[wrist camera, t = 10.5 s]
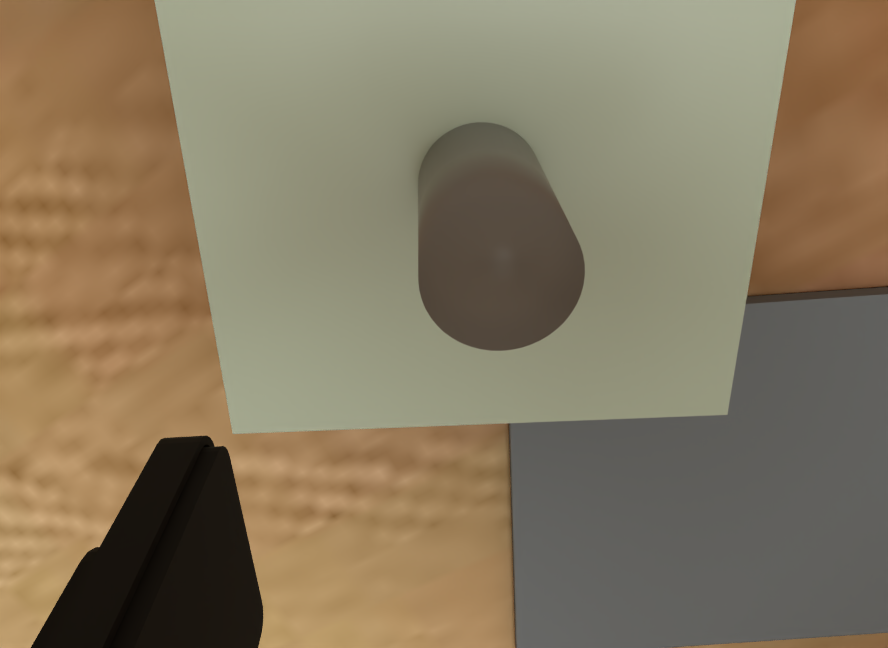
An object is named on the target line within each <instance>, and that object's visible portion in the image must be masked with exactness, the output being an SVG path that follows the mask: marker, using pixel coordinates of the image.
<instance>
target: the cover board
mask: <svg viewBox="0 0 888 648" xmlns="http://www.w3.org/2000/svg"><path fill="white" fill-rule="evenodd" d="M795 3H796V0H155V6H156V11H157V17H158V22H159V28H160V33H161V39H162V44H163V50H164V55H165V61H166V67H167V72H168V78H169V83H170V89H171V94H172V100H173V105H174V111H175V116H176V122H177V127H178V133H179V139H180V144H181V150H182V155H183V161H184V166H185V172H186V177H187V183H188V188H189V194H190V199H191V205H192V211H193V216H194V222H195V227H196V233H197V238H198V244H199V249H200V255H201V260H202V266H203V271H204V277H205V282H206V288H207V294H208V299H209V305H210V310H211V316H212V321H213V327H214V332H215V338H216V343H217V349H218V354H219V360H220V366H221V371H222V377H223V382H224V388H225V393H226V399H227V404H228V410H229V415H230V421H231V426H232V432H233V434H245V433H270V432H296V431H322V430H348V429H374V428H400V427H426V426H452V425H478V424H504V423H529V422H555V421H581V420H607V419H633V418H659V417H685V416H711V415H727V414H728V408H729V402H730V396H731V390H732V384H733V377H734V371H735V365H736V359H737V353H738V347H739V341H740V335H741V329H742V323H743V317H744V311H745V305H746V299H747V293H748V287H749V281H750V275H751V269H752V263H753V257H754V251H755V245H756V238H757V232H758V226H759V220H760V214H761V208H762V202H763V196H764V190H765V184H766V178H767V172H768V166H769V160H770V154H771V148H772V142H773V136H774V130H775V124H776V118H777V112H778V106H779V100H780V93H781V87H782V81H783V75H784V69H785V63H786V57H787V51H788V45H789V39H790V33H791V27H792V21H793V15H794V9H795Z"/></svg>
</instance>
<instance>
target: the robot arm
mask: <svg viewBox="0 0 888 648" xmlns="http://www.w3.org/2000/svg"><path fill="white" fill-rule="evenodd" d="M262 626H263V606H262V600H261V595H260V591H259V586H258V582H257V577H256V573H255V568H254V564H253V559H252V555H251V550H250V546H249V541H248V537H247V532H246V528H245V523H244V519H243V514H242V510H241V505H240V501H239V496H238V492H237V487H236V483H235V478H234V474H233V469H232V465H231V460H230V456H229V453H228V450H227V449H226V447H224V446H220V447H214V443H213V441H212V440H211V438H210V437H208V436H193V437H175V438H164V439H161V440H160V441H159V443H158V444H157V445H156V447H155V449H154V451H153V453H152V454H151V456H150V458H149V460H148V462H147V463H146V465H145V467H144V469H143V471H142V472H141V474H140V476H139V478H138V480H137V481H136V483H135V485H134V487H133V488H132V490H131V492H130V494H129V496H128V497H127V499H126V501H125V503H124V505H123V506H122V508H121V510H120V512H119V514H118V515H117V517H116V519H115V521H114V523H113V524H112V526H111V528H110V530H109V532H108V533H107V535H106V537H105V539H104V540H103V542H102V544H101V546H100V547H96V548H94V549H92V550H90V551H89V552H87V554H86V555H85V556H84V558H83V559H82V560H81V562H80V563H79V565H78V567H77V568H76V570H75V572H74V574H73V575H72V577H71V579H70V581H69V582H68V584H67V586H66V588H65V589H64V591H63V593H62V594H61V596H60V598H59V600H58V601H57V603H56V605H55V607H54V608H53V610H52V612H51V614H50V615H49V617H48V619H47V621H46V622H45V624H44V626H43V627H42V629H41V631H40V633H39V634H38V636H37V638H36V640H35V641H34V643H33V645H32V647H31V648H258V645H259V641H260V637H261V633H262Z"/></svg>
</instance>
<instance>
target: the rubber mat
mask: <svg viewBox="0 0 888 648" xmlns="http://www.w3.org/2000/svg"><path fill="white" fill-rule="evenodd" d="M509 444H510V477H511V510H512V543H513V576H514V609H515V642H516V648H669V647H683V646H698V645H713V644H727V643H742V642H757V641H772V640H786V639H801V638H816V637H830V636H845V635H860V634H875V633H888V287H878V288H864V289H849V290H835V291H820V292H806V293H791V294H777V295H763V296H748V297H747V299H746V305H745V311H744V317H743V323H742V329H741V335H740V341H739V347H738V353H737V359H736V365H735V371H734V377H733V384H732V390H731V396H730V402H729V408H728V414H727V415H711V416H685V417H659V418H633V419H607V420H581V421H555V422H529V423H509Z"/></svg>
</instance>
